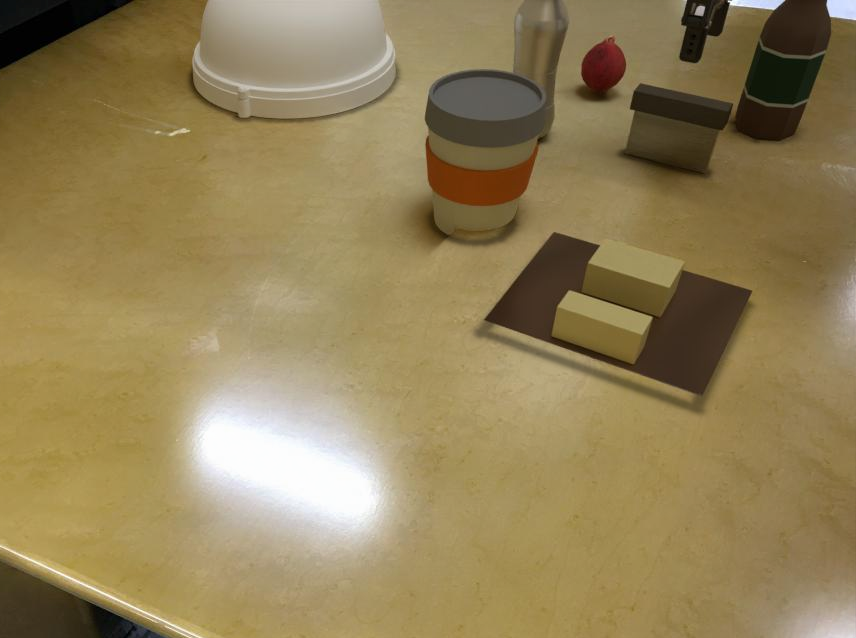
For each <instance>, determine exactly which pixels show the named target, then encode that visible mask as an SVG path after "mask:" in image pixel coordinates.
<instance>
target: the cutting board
mask: <svg viewBox="0 0 856 638" xmlns="http://www.w3.org/2000/svg"><path fill="white" fill-rule="evenodd" d="M600 245H601V244H597V243H593V242H590V241H587V240H583V239H581V238H577V237H573V236H570V235H566V234H563V233H560V232H555V231H553V233H551V234H550V235H549V237H548V238H547V240H546V241H545V242H544V243H543V244H542V246H541V247H540V249H538V251H537V252H536V254H535V255H534V256H533V257H532V259H531V260H530V261H529V262H528V264H526V266H525V267H524V269H523V270H522V271H521V273H519V275H518V276H517V277H516V278H515V280H514V281H513V282H512V284H511V285H510V286H509V287H508V289H507V290H506V291H505V293H503V295H502V296H501V298H500V299H499V300H498V301H497V302H496V304H495V305H494V306H493V308H492V309H491V310H490V312H489V313H488V314H487V315H486V316H485V318H484V319H483V321H485V322H488V323H491V324H494V325H496V326H498V327H499V326H500V327H502V328H505V329H508V330H511V331H514V332H517V333H519V334H523V335H525V336H528V337H531V338H534V339H537V340H539V341H543V342H544V343H547V344H551V345H553V346H556V347H559V348H562V349H565V350H568V351H571V352H573V353H577V354H579V355H582V356H585V357H587V358H590V359H594V360H597V361H599V362H602V363H606V364H608V365H611V366H614V367H617V368H620V369H623V370H625V371H628V372H631V373H634V374H637V375H640V376H641V377H642V376H643V377H645V378H649V379H651V380H654V381H657V382H660V383H662V384H665V385H668V386H671V387H674V388H677V389H679V390H682V391H685V392H688V393H691V394H694V395H696V396H700V397H703V396H704V394H705V391H706V389H707V388H708V385H709V383H710V381H711V379H712V377H713V375H714V372H715V371H716V368H717V366H718V364H719V362H720V360H721V358H722V356H723V354H724V352H725V350H726V348H727V346H728V343H729V342H730V339H731V337H732V335H733V334H734V331H735V329H736V326H737V325H738V323H739V320H740V319H741V317H742V314H743V312H744V310H745V309H746V306H747V304H748V302H749V299H750V297H751V295H752V293H753V290H752V289H750V288H746V287H742V286H739V285H735V284H732V283H729V282H725V281H722V280H718V279H716V278H711V277H708V276H705V275H701V274H698V273H695V272H691V271H689V270H688V271H687V270H685V269H683V270H682V273H681V276H680V279H679V282H678V286H677V289H676V291H675V293H674V295H673V297H672V298H671V300H670V302H669V304H668V305H667V307H666V309H665V310H664V312H663V314H662V316H661V317H658V316H654V315H651V314H648V313H645V312H642V311H639V310H636V309H633V308H629V307H626V306H623V305H620V304H617V303H614V302H611V301H608V300H605V299H601V298H598V297H595V296H592V295H589V294H586V293H583V292H582V287H583V283H584V278H585V274H586V269H587V265H588V262H589V261H590V259H591V258H592V256H593V255H594V254H595V252H596V251H597V249H598V248H599V247H600ZM569 290H570V291H573V292H577V293H580V294H583V295H586V296H589V297H592V298H595V299H598V300H601V301H605V302H608V303H611V304H614V305H617V306H620V307H623V308H626V309H629V310H633V311H636V312H639V313H642V314H645V315H648V316H651V317H653V319H652V322H651V326H650V329H649V332H648V336H647V339H646V342H645V346H644V348H643V350H642V351H641V353H640V355H639V357H638V358H637V360H636V362H635V363H634V364H630V363H627V362H624V361H621V360H619V359H616V358H613V357H610V356H607V355H604V354H601V353H598V352H595V351H593V350H590V349H587V348H584V347H581V346H578V345H575V344H572V343H569V342H567V341H564V340H561V339H558V338H555V337H552V336H551V335H552V330H553V325H554V320H555V315H556V310H557V306H558V305H559V304H560V302H561V301H562V299H563V298H564V297H565V295H566V294H567V292H568V291H569Z"/></svg>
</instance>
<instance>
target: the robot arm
mask: <svg viewBox="0 0 856 638" xmlns="http://www.w3.org/2000/svg"><path fill="white" fill-rule="evenodd" d="M731 2H733V0H686V3H685V7H684V11H683V15H682V17H681V19H680V22H681V24H680V26H683V27H685V31H684V35H683V39H682V43H681V48H680V52H679V56H678V58H679V60H680V61H681V62H683V63H684V62H685V63H690V64H698V63H699V62H700V60H701V59H702V57H703V53H704V49H705V45H706V41H707V38H708V36H709V37H715V38H717V37H720V36H721V34H722V33H723V31H724V27H725V23H726V20H727V16H728V12H729V10H730V5H731ZM699 7H704V10H703V13H702V15H698V14H696V12H697V9H698V8H699Z"/></svg>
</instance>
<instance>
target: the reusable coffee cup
mask: <svg viewBox="0 0 856 638" xmlns="http://www.w3.org/2000/svg"><path fill="white" fill-rule="evenodd" d="M545 115H546V93H545V91H544V89H543V88H542V87H541V86H540V85H539V84H538V83H536V82H535V81H533V80H532V79H530V78H527V77H525V76H522V75H519V74H516V73H513V71H506V70H501V69H492V68H489V69H487V68H478V69H477V68H476V69H467V70H459V71H456V72H451V73H449V74H445V75H442V77H439V78H438V79H436V80H435V81H434V82H433V83H432V84H431V86H430V88H429V89H428V95H427V101H426V107H425V112H424V122H425V125H426V126H427V132H428V133H427V134H428V135H427V137H426V139H425V155H426V156H425V157H426V158H425V159H426V172H427V182H428V186H429V187H430V188H431V191H432V204H433V205H432V206H433V219H434V223H435V226H436V227H437V228H438V229H439V230H440V231H442V232H443V233H444V234H446V235H448V236H450V235H451V234H452V233H453V232H454V231H455V230H456V229H460V230H465V231H466V230H467V231H473V232H475V231H476V232H482V231H491V230H497V229H499V228H502V227H505V226H506V225H508V224H509V223H510V222H511V221H513V219H514V218H515V216H516V213H517V211H518V206H519V203H520V201H521V196H522V195H524V193H525V192H526V191H527V189H528V186H529V182H530V179H531V176H532V173H533V169H534V166H535V164H536V163H535V162H536V159H537V156H538V152H539V143H538V136H539V134H540V132H541V131H542V130H543V128H544V126H545Z"/></svg>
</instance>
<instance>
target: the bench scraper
mask: <svg viewBox="0 0 856 638" xmlns="http://www.w3.org/2000/svg"><path fill="white" fill-rule="evenodd" d="M631 97H632V98H631V102H630V106H629V110H630V111H634V112H633V117H632V120H631V123H630V124H631V125H630V129H629V132H628V136H627V137H628V138H627V142H626V146H625V149H624V154H625V155H628V156H633V157H637V158H640V159H644V160H650V161H652V162H657V163H661V164H664V165H669V166H672V167H677V168H680V169H684V170H689V171H693V172H697V173H700V174H704V175H705V174H706V173H707V172H708V170H709V167H710V164H711V161H712V158H713V154H714V151H715V147H716V144H717V141H718V138H719V135H720V132H721V131H723V130H724V129H725V128H726V126H727V124H728V123H729V119H730V117H731V114H732V110H733V107H734V103H733V102H730V101H729V102H728V101H724V100H719V99H715V98H710V97H705V96H702V95H697V94H693V93H689V92H688V93H687V92H683V91H678V90H675V89H674V90H673V89H669V88H665V87H659V86H654V85H651V84H646V83H641V82H640V83H639V84H638V85H637V86H636V88H635V89H634V90H633V93H632V96H631Z"/></svg>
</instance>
